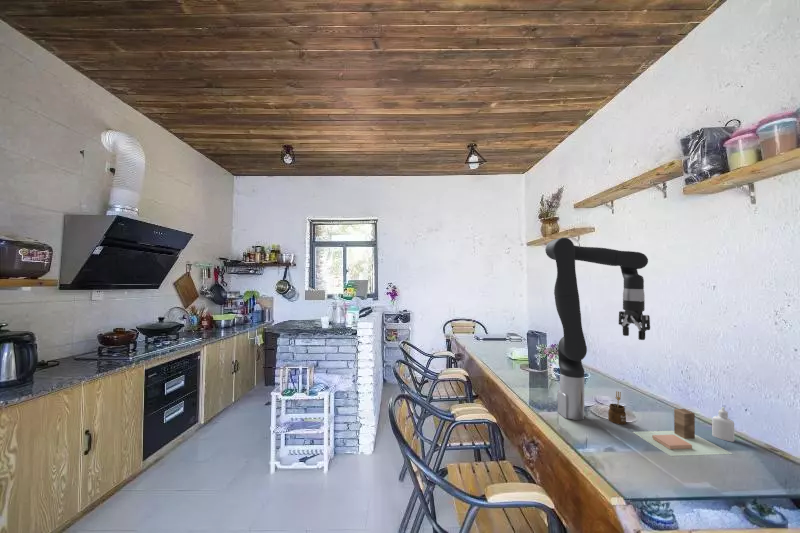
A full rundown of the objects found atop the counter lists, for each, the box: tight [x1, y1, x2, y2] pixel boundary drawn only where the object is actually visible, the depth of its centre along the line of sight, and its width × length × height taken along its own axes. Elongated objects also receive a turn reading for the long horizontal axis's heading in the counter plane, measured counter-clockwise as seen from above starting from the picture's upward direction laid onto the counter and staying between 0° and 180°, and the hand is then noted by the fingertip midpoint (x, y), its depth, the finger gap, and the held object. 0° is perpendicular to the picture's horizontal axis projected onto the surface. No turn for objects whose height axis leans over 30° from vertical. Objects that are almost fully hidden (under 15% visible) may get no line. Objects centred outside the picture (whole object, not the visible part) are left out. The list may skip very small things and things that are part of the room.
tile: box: [652, 435, 692, 449], centre depth 114 cm, size 1×7×8 cm
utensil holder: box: [607, 390, 627, 425], centre depth 132 cm, size 6×6×12 cm
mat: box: [632, 430, 733, 457], centre depth 116 cm, size 22×16×1 cm
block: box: [673, 408, 696, 439], centre depth 120 cm, size 4×4×9 cm
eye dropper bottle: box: [711, 406, 735, 443], centre depth 119 cm, size 4×6×12 cm
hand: (633, 337), depth 139 cm, fingers open, 8 cm apart
